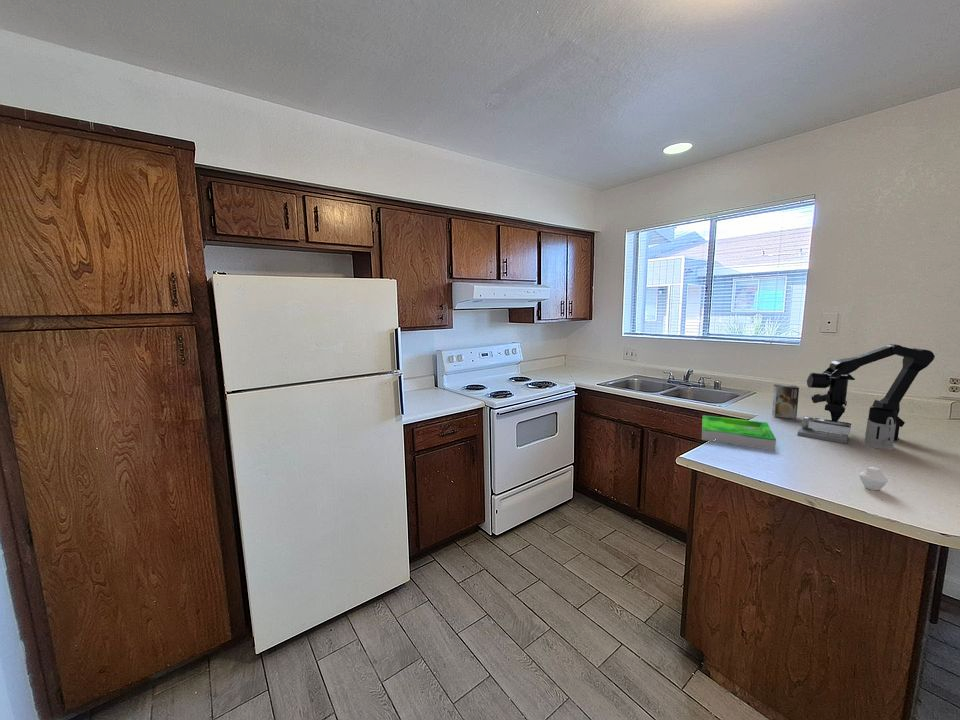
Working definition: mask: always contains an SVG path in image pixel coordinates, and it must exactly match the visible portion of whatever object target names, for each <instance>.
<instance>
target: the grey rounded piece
mask: <svg viewBox="0 0 960 720" xmlns="http://www.w3.org/2000/svg"><path fill="white" fill-rule="evenodd" d="M896 415H897V411H896V410H892V409H888V408H880V407H871V406H869V410H868V418H867V421H866V428H865V437H864V440H863V441H862V444H863V445H864V446H866V447H870V448H876V449H880V450H888V449H889V450H894V449H895V447H894V441H895V440H894V434H895V427H896Z"/></svg>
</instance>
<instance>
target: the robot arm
mask: <svg viewBox="0 0 960 720" xmlns="http://www.w3.org/2000/svg"><path fill="white" fill-rule="evenodd" d="M894 355H895V356H900V357H903V358H902V368H901V369H900V371H899V373H898V374H897V376H896V377H895V379H894V381H893V382H892V384H891V386H890V388H889V389H888V391H887V392H886V394H885V396H884V397H883V398H882V399H880V400H878V399H875V400H874V401H873V404H872V405H871V406H870V407H880V408H888V409H892V410H896V411H897V415H896V427H895V434H894V441H897V442H898V441H899V434H900V433H899V432H900V428H903V426H904V425H905V424H906V422H905V421H904V420H903V419H902V418H900V416H899V413H900V409H901V407H900V406H901V405H900V403H901V401H902V400H903V398H904V396H905V395H906V394H907V392H908V391H909V388H910V387H911V386H912V384H913V382H914V381H915V380H916V377H917V376H918V374H919V373H920V372H921V371H923V370H924V369H926V368H927V367H928V366H929V365H931V363H932V362H933V361H934V360H935V354H934V352H933V351H931V350H930V349H925V348H924V349H923V348H922V349H921V348H916V347H915V348H913V347H912V348H910V347H905V346H902V345H900V344H897V343H896V344H894V343H889V344H886V345H885V346H882V347H879V348H877V349H874V350H871V351H868V352H865V353H863V354H859V355H856V356H853V357H848V358H847V357H846V358H840V359H836V360H833V361H831V362H830V364H829V366H828V367H827V368H826V369H825V370H824V371H823V372H821V373H819V372H818V373H817V372H810V373H809V375H808V377H807V379H806V386H807V387H808V388H810V389H827V388H829V389H828V391H826V392H825V393H823V392H822V393H817V394H812V395H811V396H810V398H811V401H812V403H813V404H817V403H822V402H823V403H824V402H825V403H826V404H825V406H824V411H828V412H829V413H830V416H831V419H830V420H833V421H839V420H840V418H841V417H842V416H843V414H845V412H846V407H847V405H848V401H847V394H848V386H849V381H855V380H856V378H855V377H853V376H852V375H851V373H853V372H855V371H857V370H858V369H859V368H861V367H863V366H865V365H868V364H872V363H874V362H877V361H879V360H883V359H886V358H889V357H893V356H894Z"/></svg>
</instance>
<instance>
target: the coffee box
mask: <svg viewBox="0 0 960 720" xmlns="http://www.w3.org/2000/svg"><path fill="white" fill-rule="evenodd" d="M799 393H800V387H799V386H797V385H790V384H773V395H772V397H773V398H772V408H771V409H772V411H771V414H772V416H773V417H775V418H785V419H786V418H787V419H797V416H798V406H799Z"/></svg>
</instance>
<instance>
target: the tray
mask: <svg viewBox="0 0 960 720" xmlns="http://www.w3.org/2000/svg"><path fill="white" fill-rule="evenodd" d="M701 421H702V422H701V440H702V441H707V442H714V441H713V440H715V439H716V440H715V443H722V444H723V443H724V444H728V443H731V445H735V444H738V445H737V446H742V445H744V447H749V446H750V448H758V449H763V448H764V450H770V449H771V451H776V443H777V438H776V437H775V435H774V433H773V431H772V429H771V427H770V425H769V423H768V422H766V421H765V422H764V421H757V420H749V419H740V418H732V417H724V416H723V417H721V416H715V415H705V414H703V415H702V420H701Z"/></svg>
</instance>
